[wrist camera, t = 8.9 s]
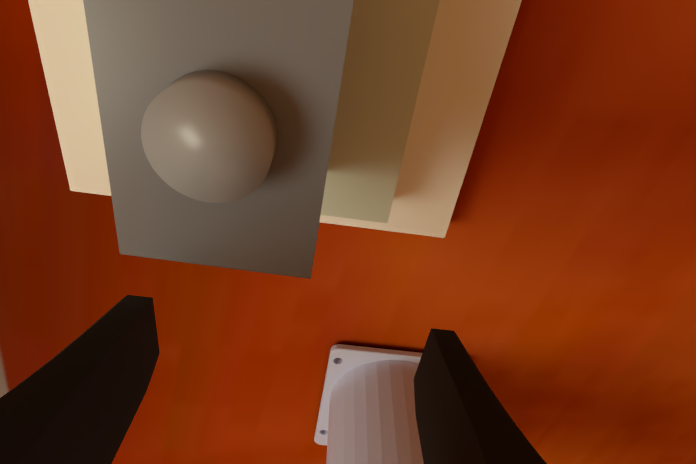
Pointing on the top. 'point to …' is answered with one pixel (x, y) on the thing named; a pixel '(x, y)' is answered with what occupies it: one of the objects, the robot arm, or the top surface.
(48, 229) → the top surface
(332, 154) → the stand
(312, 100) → the housing
